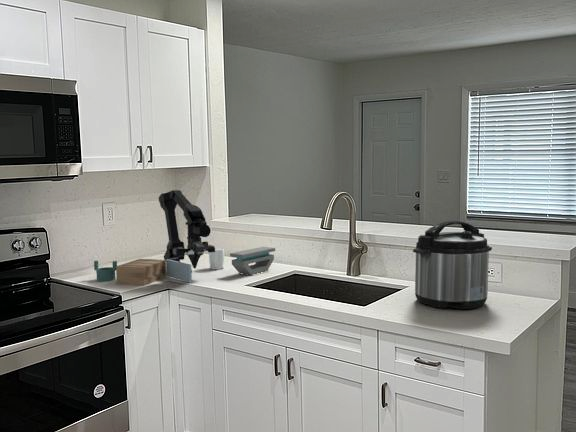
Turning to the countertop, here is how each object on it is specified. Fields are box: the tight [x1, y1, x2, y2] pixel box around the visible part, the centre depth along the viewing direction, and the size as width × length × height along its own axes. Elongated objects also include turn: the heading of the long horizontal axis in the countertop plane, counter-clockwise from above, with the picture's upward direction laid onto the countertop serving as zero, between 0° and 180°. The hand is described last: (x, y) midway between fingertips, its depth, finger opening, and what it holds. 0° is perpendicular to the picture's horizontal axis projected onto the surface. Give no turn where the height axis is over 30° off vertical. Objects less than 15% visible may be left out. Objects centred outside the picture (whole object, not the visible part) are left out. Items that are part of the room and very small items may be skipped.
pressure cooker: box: [412, 220, 493, 310], centre depth 224 cm, size 30×28×32 cm
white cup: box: [208, 247, 225, 270], centre depth 296 cm, size 8×8×10 cm
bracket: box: [93, 260, 118, 283], centre depth 271 cm, size 9×9×9 cm
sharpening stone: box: [229, 246, 276, 276], centre depth 285 cm, size 25×8×11 cm, turn 143°
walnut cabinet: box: [115, 258, 167, 287], centre depth 269 cm, size 20×14×8 cm
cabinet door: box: [166, 259, 193, 283], centre depth 269 cm, size 20×2×8 cm, turn 43°
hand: (194, 268), depth 271 cm, fingers closed
